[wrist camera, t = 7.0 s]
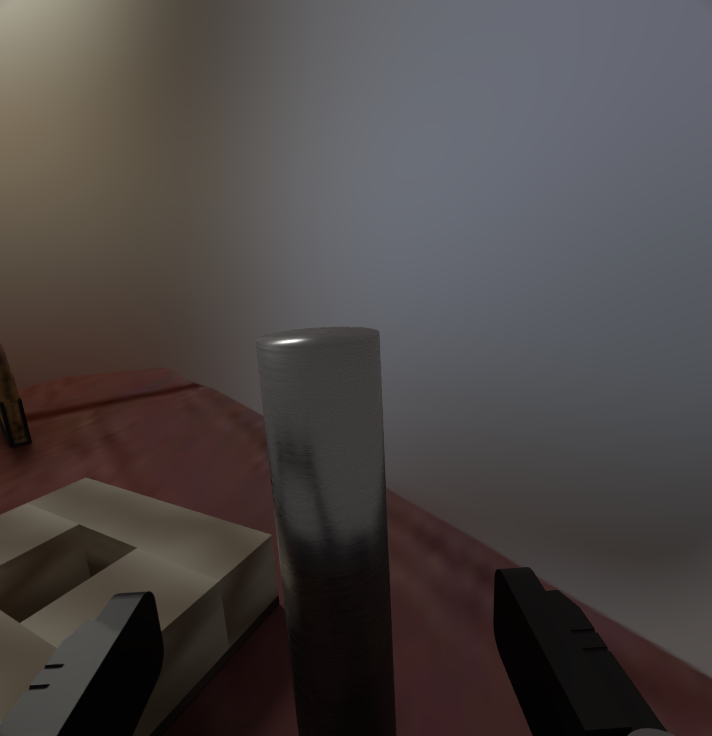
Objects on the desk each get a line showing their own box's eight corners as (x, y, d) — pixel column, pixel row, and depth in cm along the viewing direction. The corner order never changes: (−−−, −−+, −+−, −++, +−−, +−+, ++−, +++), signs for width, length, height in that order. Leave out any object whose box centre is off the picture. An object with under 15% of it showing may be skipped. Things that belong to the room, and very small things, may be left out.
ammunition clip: (0, 426, 54) (-24, 332, 51) (18, 422, 55) (-4, 330, 52) (11, 448, 46) (-17, 339, 43) (31, 442, 47) (6, 336, 45)
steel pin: (372, 856, 12) (340, 348, 9) (284, 797, 14) (228, 343, 10) (412, 747, 15) (398, 327, 12) (335, 708, 16) (303, 326, 13)
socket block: (8, 905, 12) (-30, 797, 11) (-165, 674, 19) (-196, 600, 18) (279, 603, 22) (271, 535, 21) (97, 530, 29) (85, 477, 29)
